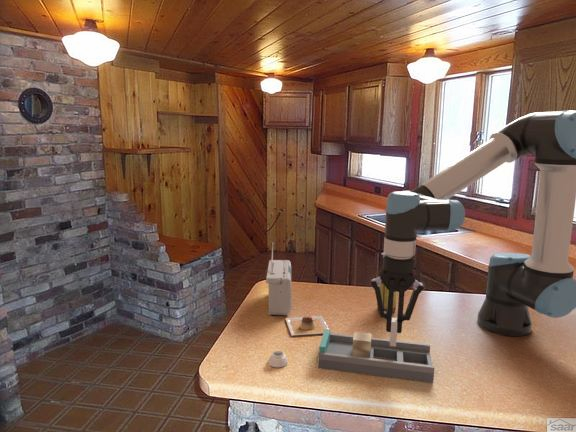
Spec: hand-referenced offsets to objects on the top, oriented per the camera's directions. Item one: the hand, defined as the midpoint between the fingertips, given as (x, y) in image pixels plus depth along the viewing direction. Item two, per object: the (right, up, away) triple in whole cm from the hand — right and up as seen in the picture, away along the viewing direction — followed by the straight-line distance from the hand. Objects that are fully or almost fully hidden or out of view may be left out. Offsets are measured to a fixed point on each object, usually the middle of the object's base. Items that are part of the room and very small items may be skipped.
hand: (392, 343), depth 110 cm
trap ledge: (-4, -6, +2) cm, 7 cm away
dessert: (-21, -2, +23) cm, 31 cm away
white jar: (-29, -6, +2) cm, 30 cm away
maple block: (-7, -3, +3) cm, 9 cm away
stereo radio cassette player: (-30, +2, +40) cm, 50 cm away
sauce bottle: (+6, +1, +35) cm, 36 cm away
